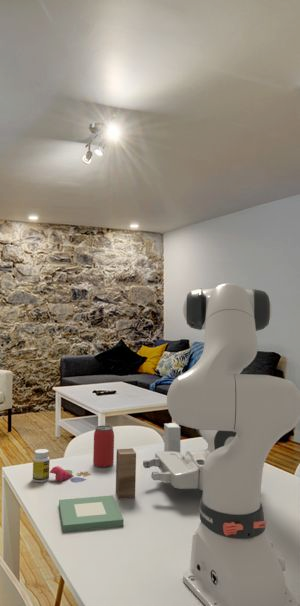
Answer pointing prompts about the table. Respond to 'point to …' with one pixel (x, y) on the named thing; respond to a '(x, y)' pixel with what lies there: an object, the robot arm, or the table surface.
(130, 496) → the walnut block
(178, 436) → the skincare box
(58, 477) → the toy pieces
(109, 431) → the beer can
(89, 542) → the table surface
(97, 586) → the table surface
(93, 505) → the plate
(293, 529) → the table surface
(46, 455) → the supplement bottle
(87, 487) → the table surface
